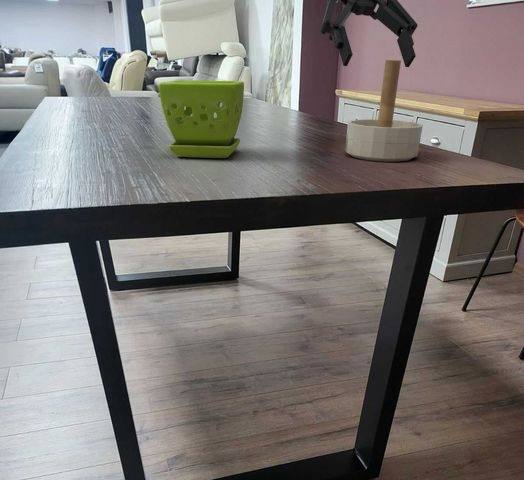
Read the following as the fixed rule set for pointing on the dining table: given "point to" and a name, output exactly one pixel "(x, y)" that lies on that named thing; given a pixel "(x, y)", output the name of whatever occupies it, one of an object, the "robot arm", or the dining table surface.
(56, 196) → the dining table surface
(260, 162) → the dining table surface
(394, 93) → the muddler
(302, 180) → the dining table surface
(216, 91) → the flower pot
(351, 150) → the bowl
